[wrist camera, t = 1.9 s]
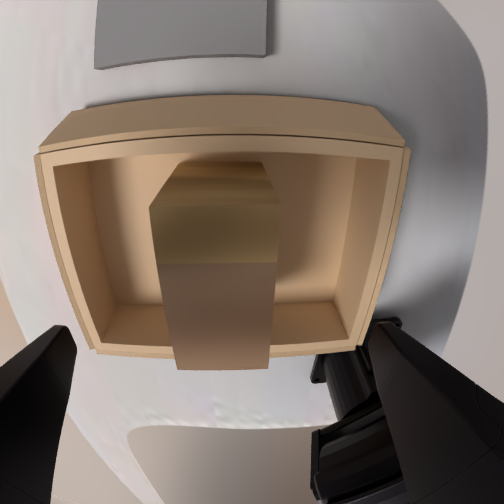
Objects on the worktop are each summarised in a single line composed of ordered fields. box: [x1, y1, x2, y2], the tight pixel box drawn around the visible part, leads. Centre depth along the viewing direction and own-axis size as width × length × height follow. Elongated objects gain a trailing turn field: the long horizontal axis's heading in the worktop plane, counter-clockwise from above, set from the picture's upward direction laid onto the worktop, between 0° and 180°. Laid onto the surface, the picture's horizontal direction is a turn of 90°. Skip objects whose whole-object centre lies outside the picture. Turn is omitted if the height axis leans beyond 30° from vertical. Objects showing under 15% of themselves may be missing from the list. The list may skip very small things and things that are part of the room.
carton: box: [34, 95, 411, 359], centre depth 15 cm, size 14×18×4 cm
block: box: [149, 162, 281, 370], centre depth 13 cm, size 8×4×6 cm, turn 179°
